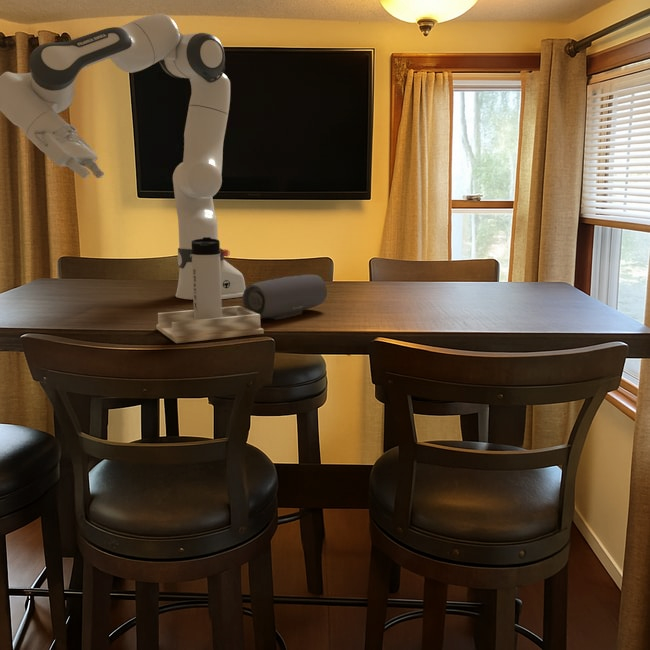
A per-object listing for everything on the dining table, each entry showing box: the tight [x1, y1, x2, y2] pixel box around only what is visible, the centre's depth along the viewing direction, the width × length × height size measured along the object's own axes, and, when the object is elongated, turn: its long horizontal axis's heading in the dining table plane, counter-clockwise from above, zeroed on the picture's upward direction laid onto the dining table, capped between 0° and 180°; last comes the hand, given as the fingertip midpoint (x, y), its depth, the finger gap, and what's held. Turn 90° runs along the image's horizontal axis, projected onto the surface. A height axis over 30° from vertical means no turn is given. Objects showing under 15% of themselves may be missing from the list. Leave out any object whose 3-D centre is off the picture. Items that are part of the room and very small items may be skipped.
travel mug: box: [192, 237, 223, 320], centre depth 154 cm, size 6×7×20 cm
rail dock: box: [155, 305, 265, 344], centre depth 156 cm, size 20×16×4 cm
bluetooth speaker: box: [241, 274, 328, 320], centre depth 173 cm, size 23×9×10 cm, turn 141°
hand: (94, 176), depth 163 cm, fingers open, 8 cm apart
